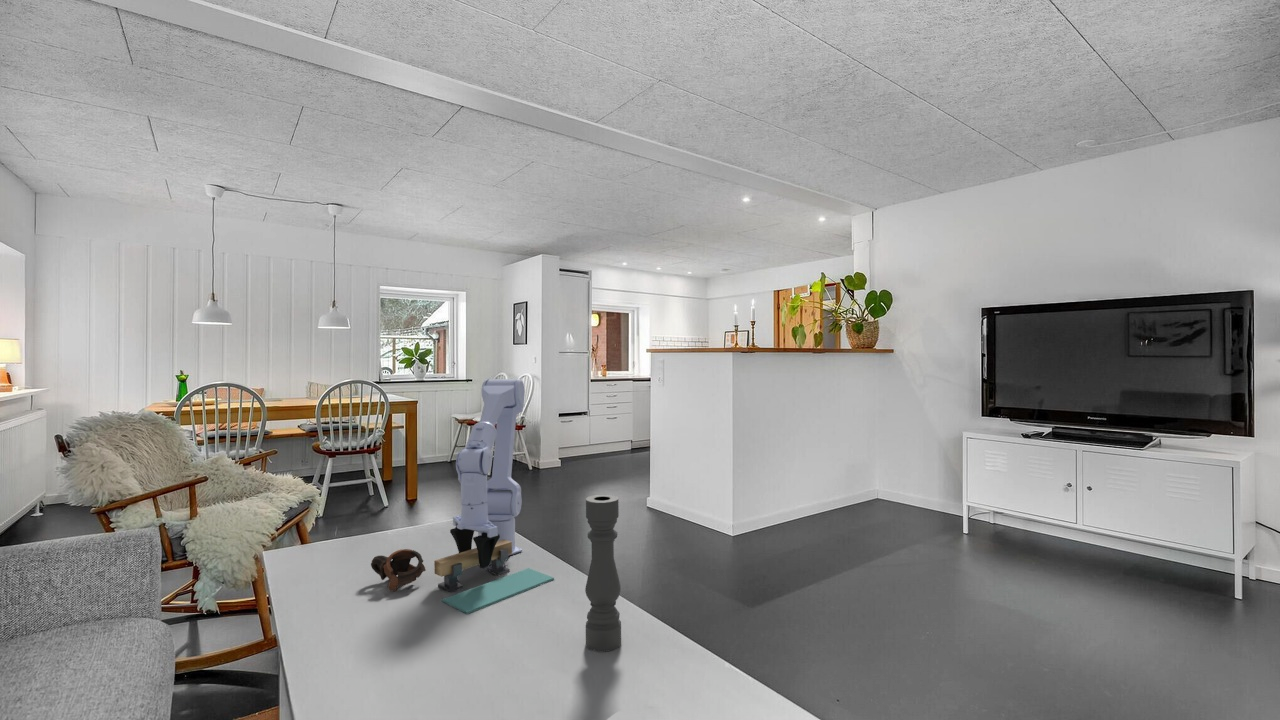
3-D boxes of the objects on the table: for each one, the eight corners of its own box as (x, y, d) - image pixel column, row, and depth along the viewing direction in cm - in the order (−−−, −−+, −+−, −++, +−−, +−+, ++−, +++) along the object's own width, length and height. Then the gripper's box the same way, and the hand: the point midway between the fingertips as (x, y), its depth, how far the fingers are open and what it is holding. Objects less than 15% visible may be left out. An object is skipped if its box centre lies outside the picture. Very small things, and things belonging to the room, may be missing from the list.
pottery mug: (430, 574, 132) (433, 549, 128) (412, 609, 124) (415, 583, 120) (378, 562, 131) (380, 537, 128) (357, 596, 123) (358, 569, 119)
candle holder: (616, 653, 95) (615, 503, 95) (581, 649, 97) (579, 502, 96) (625, 635, 101) (623, 494, 101) (591, 632, 103) (590, 493, 103)
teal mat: (442, 601, 116) (442, 599, 116) (528, 569, 133) (528, 568, 133) (467, 613, 110) (467, 611, 110) (554, 579, 127) (554, 577, 127)
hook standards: (437, 586, 124) (437, 560, 124) (495, 566, 135) (495, 543, 135) (451, 592, 120) (451, 566, 120) (510, 571, 132) (510, 548, 132)
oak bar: (434, 573, 122) (434, 560, 122) (504, 551, 136) (504, 539, 136) (441, 576, 120) (441, 563, 120) (511, 553, 134) (511, 541, 134)
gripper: (440, 500, 129) (441, 560, 130) (477, 511, 120) (478, 575, 120) (468, 494, 135) (468, 552, 135) (505, 504, 125) (505, 566, 126)
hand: (475, 562), depth 128 cm, fingers open, 7 cm apart
